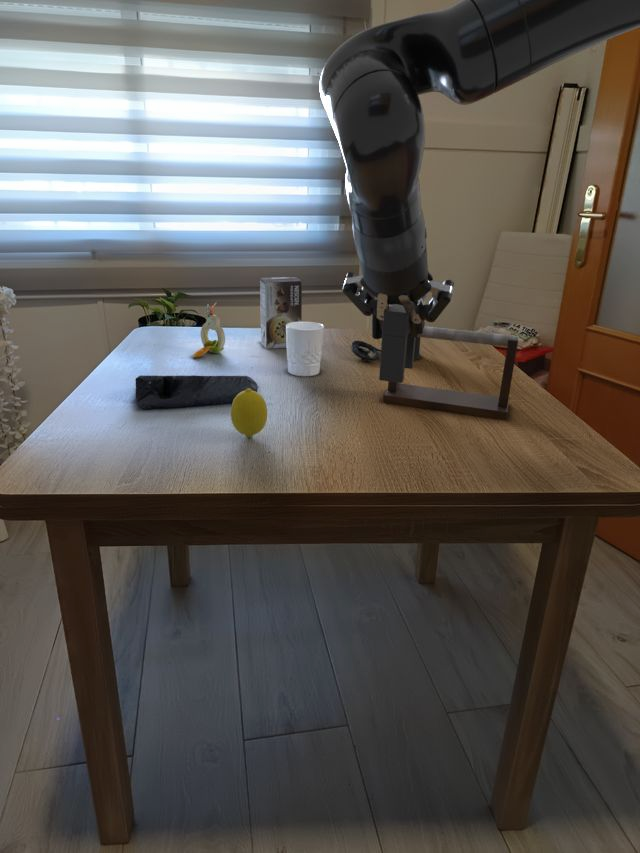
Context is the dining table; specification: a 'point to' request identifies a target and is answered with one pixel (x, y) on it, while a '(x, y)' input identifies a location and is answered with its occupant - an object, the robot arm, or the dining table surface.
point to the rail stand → (457, 399)
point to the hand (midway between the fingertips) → (403, 330)
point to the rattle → (208, 345)
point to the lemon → (249, 412)
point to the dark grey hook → (396, 344)
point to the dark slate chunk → (189, 390)
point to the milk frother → (377, 334)
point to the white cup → (304, 347)
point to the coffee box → (279, 308)
